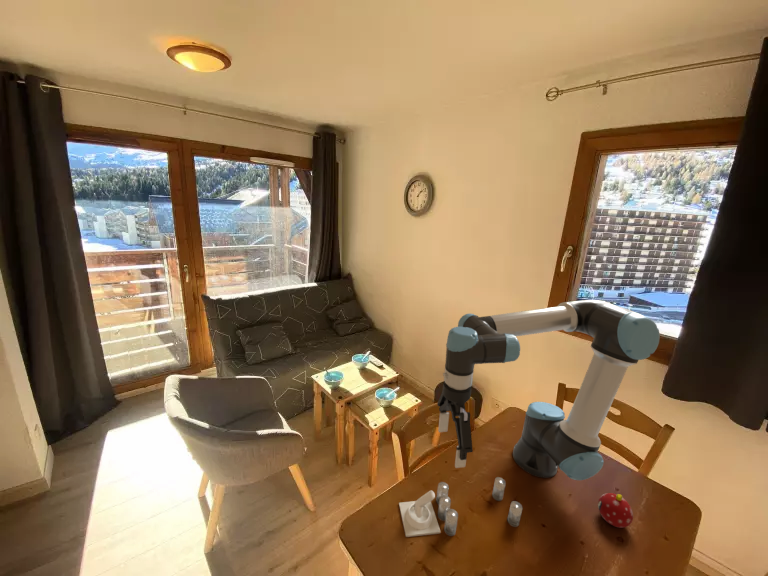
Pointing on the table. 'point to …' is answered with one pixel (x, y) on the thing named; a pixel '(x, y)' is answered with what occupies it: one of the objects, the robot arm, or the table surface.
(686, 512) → the table surface
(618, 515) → the christmas ornament
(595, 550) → the table surface
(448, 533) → the cylinder
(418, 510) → the hook
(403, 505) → the felt pad
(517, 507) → the cylinder
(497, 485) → the cylinder
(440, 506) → the spacer
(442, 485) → the cylinder
